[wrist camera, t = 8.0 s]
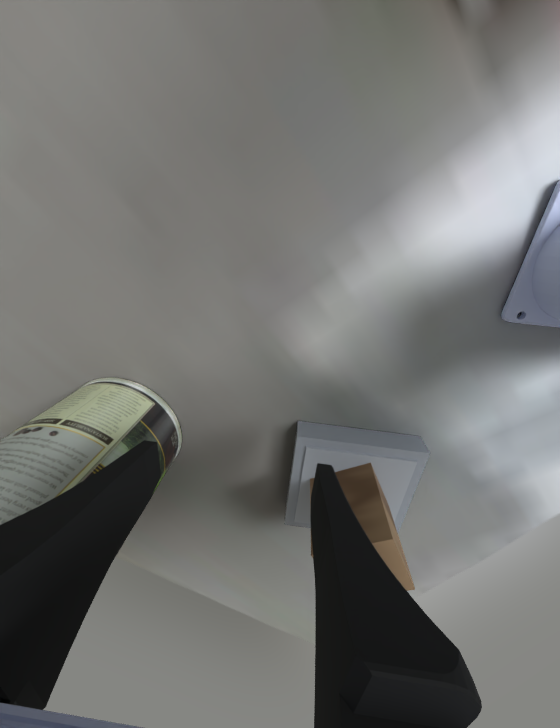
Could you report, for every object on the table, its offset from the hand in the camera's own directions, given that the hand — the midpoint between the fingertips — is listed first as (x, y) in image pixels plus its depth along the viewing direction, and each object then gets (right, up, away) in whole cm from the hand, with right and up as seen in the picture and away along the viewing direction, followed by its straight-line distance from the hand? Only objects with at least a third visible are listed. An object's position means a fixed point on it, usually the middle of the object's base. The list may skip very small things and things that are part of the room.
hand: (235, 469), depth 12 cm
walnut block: (+8, -6, +10) cm, 14 cm away
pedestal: (+8, -5, +12) cm, 16 cm away
